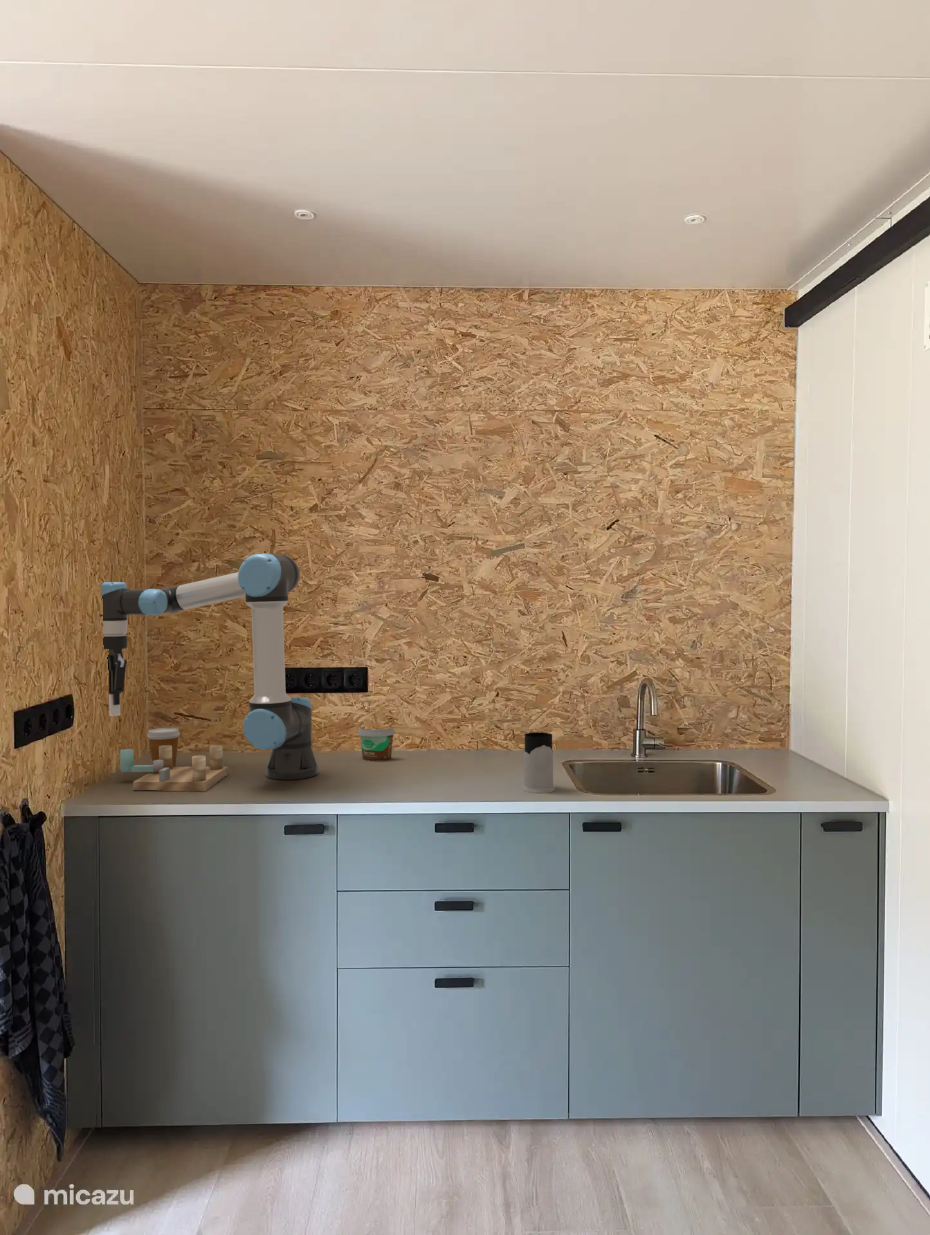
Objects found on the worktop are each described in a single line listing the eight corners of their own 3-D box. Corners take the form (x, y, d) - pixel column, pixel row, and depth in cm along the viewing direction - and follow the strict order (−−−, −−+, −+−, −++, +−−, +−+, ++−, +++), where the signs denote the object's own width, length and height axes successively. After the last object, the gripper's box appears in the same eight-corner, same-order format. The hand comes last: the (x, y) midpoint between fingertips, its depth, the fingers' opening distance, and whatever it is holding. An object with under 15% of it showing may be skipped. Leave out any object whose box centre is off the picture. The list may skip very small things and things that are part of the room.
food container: (351, 760, 289) (351, 729, 288) (359, 756, 294) (359, 726, 294) (388, 762, 285) (387, 730, 285) (395, 758, 291) (395, 727, 290)
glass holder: (529, 794, 243) (528, 738, 242) (511, 782, 256) (511, 729, 255) (559, 791, 245) (559, 736, 244) (540, 780, 259) (540, 728, 258)
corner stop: (170, 778, 253) (169, 767, 253) (164, 781, 249) (164, 770, 249) (164, 778, 254) (164, 767, 253) (159, 781, 250) (159, 770, 249)
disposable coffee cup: (185, 766, 282) (184, 727, 281) (172, 772, 272) (172, 733, 272) (156, 765, 283) (155, 727, 282) (142, 772, 273) (141, 732, 273)
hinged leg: (165, 769, 262) (164, 749, 262) (160, 772, 259) (160, 751, 259) (123, 769, 263) (123, 749, 263) (118, 772, 259) (117, 751, 259)
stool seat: (227, 775, 269) (227, 744, 268) (205, 791, 249) (204, 758, 248) (160, 774, 269) (160, 744, 269) (133, 790, 249) (132, 758, 249)
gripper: (92, 634, 267) (93, 714, 268) (109, 636, 258) (110, 719, 259) (117, 633, 272) (118, 711, 273) (135, 635, 263) (136, 717, 264)
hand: (114, 715), depth 266 cm, fingers closed
